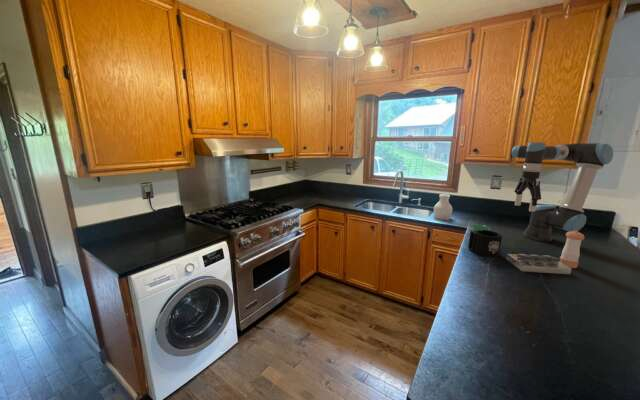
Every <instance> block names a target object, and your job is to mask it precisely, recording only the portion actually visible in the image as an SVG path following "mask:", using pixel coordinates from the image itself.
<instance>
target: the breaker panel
mask: <svg viewBox="0 0 640 400" xmlns="http://www.w3.org/2000/svg"><path fill="white" fill-rule="evenodd" d="M517 254H518V253H516V254H515V253H507V254H506V258H505V259H506V261H508V262H510V264H512V265H513V266H515V267H516V268H517V269H519V270H520V271H521V272H528V273H529V272H531V273H544V274H545V273H546V274H562V275H571V273H572V268H569V267H568V266H566V265H564V264H563V263H561V262H559V261H550V260H547V261H544V260H536V259H535V260H527V259H523V258H520V257H517Z"/></svg>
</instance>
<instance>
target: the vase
mask: <svg viewBox="0 0 640 400" xmlns="http://www.w3.org/2000/svg"><path fill="white" fill-rule="evenodd" d="M438 197H439V201H437V203H436V204H435V205H434V206H433V214H434V216H433V217H434V219H437V220H441V221H449V220H450V219H451V216H452V214H453V207H452V205H451V204H450V202H449V199H450V198H451V195H450V194H447V193H446V194H445V193H441V194H439V195H438Z"/></svg>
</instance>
